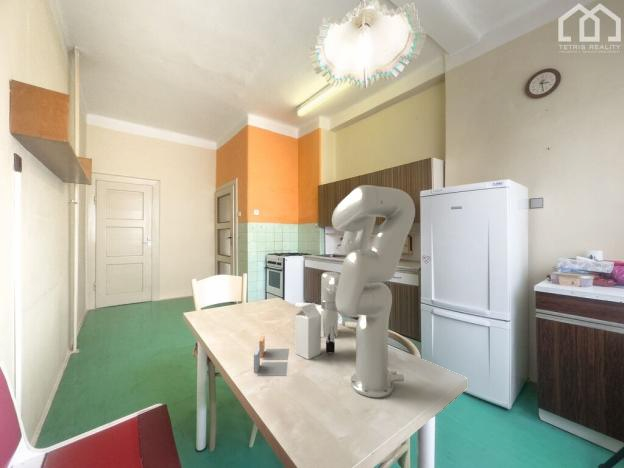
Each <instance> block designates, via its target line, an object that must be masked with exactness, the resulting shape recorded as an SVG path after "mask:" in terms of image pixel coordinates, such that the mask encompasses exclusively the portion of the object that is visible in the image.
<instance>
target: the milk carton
mask: <svg viewBox="0 0 624 468" xmlns="http://www.w3.org/2000/svg"><path fill="white" fill-rule="evenodd" d="M315 305H316V303H315V302H313V303H312V302H311V303H310V304H309V303H308V304H305V305H302V306H301V309H300V310H299V311H298V312H296V314H295V318H294V319H295V321H294V326H295V327H294V333H295V335H294V354H295V355H297V356H300V357H301V358H304V359H306V360H311V359H312V358H314V357H317V356H318V355H321V354H322V347H321V346H322V337H321V314H320V312H319V311H318V310H317V308H316V307H317V306H315Z"/></svg>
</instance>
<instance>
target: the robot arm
mask: <svg viewBox="0 0 624 468" xmlns="http://www.w3.org/2000/svg"><path fill="white" fill-rule="evenodd" d="M415 207H416V206H415V203H414V200H413V198H412V197H411V196H410V195H409V194H408V193H407V192H405V191H404V190H402V189H398V188H395V187H387V186H379V185H369V184H363V185H359V186H357V187H355V188H354V189H353V190H351V191H350V193H348V194H347V195H346V197H344V198H343V199H342V200H341V201H340V202H339V203H338V204H337V205H336V207H335V208H334V210H333V212H332V216H331V223H332V224H331V225H332V227H333V229H334V230H335V231H338V232H344V233H343V238H342V241H341V244H340V251H341V253H343V254H344V255H345V256H346V257H345V259H344V260H343V262H342V267H341V270H340V272H335V271H325V272H323V273H322V274H321V280H320V283H321V284H320V295H321V296H320V305H321V309H323V334H324V337H327V338H326V341H325V352H326V353H327V354H335V352H336V351H335V349H336V348H335V345H336V344H335V343H336V342H335V338H336V337H338V335H337V323H338V322H339V321H338V320H339V315H338V314H340V315H341V316H343V317H345V318H356V317H358V319H357V323H356V329H355V330H356V331H355V373H354V374H352V376H351V377H350V386H351V388H352V389H353V390H354V391H356V393H358V394H360V395H362V396H365V397H369V398H384V397H387V396H389V395H390V394H392V393H393V390H394V383H395V382H399V383H401V382H405V376H404V373H403V374H402V373H401V374H398V373H397V371H396V370H391V371H390V370H389V321H390V314H391V310H392V305H393V294H392V291H391V289H390V288H389V287H388V285H387V284H386V283H385V282H389V281H391V280H392V279H393V278H394V277H395V275H396V272H397V269H398V266H399V262H400V260H401V257H402V254H403V250H404V246H405V243H406V241H407V237H408V235H409V233H410V231H411V228H412V226H413V223H414V222H415V221H414V220H415V216H416V208H415ZM379 217H380V218H385V220H383V222H382V223H381V224H380V225H379V227H378V228H377V229H376V231H375V233H374V234H373V235H374V236H373V240H372V243H371V245H370V247H369V248H368V245H369V242H370V238H371V235H372V233H373V230H374V227H375V225H376V219H377V218H379ZM367 248H368V249H367ZM324 337H323V338H324Z"/></svg>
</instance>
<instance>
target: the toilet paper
mask: <svg viewBox="0 0 624 468" xmlns="http://www.w3.org/2000/svg"><path fill="white" fill-rule="evenodd" d="M315 307H316V308H317V310H318V311H319V312H320V314H321V338H326V339H327V337H324V334H323V309H321V304H320V305H317V306H315ZM338 325H339V324H338V323H337V336H338V334H339V333H338V332H339V331H338V330H339V328H338V327H339V326H338Z"/></svg>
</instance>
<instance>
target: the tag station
mask: <svg viewBox="0 0 624 468" xmlns="http://www.w3.org/2000/svg"><path fill="white" fill-rule="evenodd" d="M265 339H266V338H265V335H261V336H260V339H259V341H258V342H259V343H258V344H259V345H258V347H256V349H255V351H254V353H253V373H254V374H257V373H258V374H257V377H286V376H287V367H288V362H287V361H288V359H289V351H290V348H266V350H265V342H266V341H265ZM261 358H262V360H263V361H264V362H263V361H262V362H261ZM265 361H267V362H265ZM268 361H269V362H268ZM272 361H273V362H272ZM278 361H279V362H278Z"/></svg>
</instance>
